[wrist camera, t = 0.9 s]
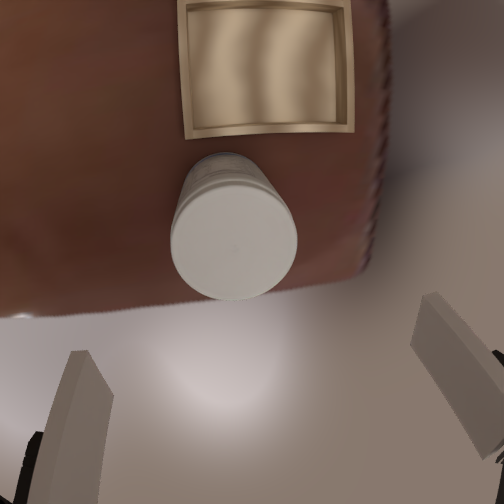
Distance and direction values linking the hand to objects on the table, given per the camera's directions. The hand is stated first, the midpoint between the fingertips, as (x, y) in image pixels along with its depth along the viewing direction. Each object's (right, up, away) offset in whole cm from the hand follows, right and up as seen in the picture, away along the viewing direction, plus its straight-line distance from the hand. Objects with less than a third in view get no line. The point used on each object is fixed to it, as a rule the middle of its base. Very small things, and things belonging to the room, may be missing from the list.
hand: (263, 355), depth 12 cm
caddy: (+1, +30, +15) cm, 33 cm away
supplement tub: (-4, +11, +25) cm, 27 cm away
